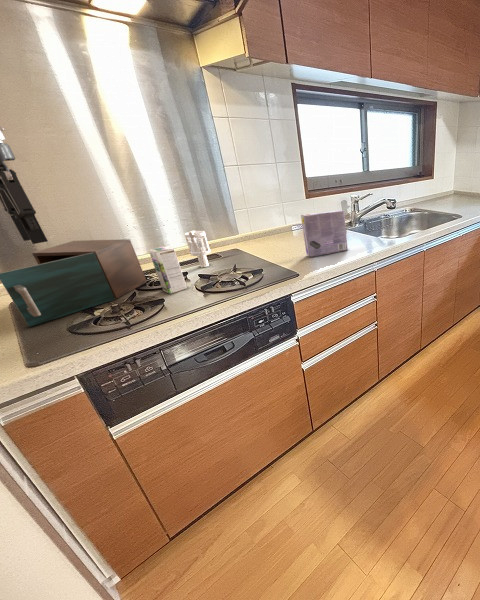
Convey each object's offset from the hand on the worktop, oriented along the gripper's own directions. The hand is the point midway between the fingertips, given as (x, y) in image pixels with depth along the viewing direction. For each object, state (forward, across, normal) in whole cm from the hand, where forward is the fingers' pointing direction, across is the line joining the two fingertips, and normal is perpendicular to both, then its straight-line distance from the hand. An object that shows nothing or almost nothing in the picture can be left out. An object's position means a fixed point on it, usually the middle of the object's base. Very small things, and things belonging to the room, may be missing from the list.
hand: (35, 240), depth 84 cm
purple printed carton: (+23, -24, -81) cm, 88 cm away
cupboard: (+23, +18, -13) cm, 32 cm away
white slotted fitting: (+23, +10, -44) cm, 51 cm away
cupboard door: (+23, +2, -1) cm, 23 cm away
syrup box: (+23, -5, -25) cm, 35 cm away
